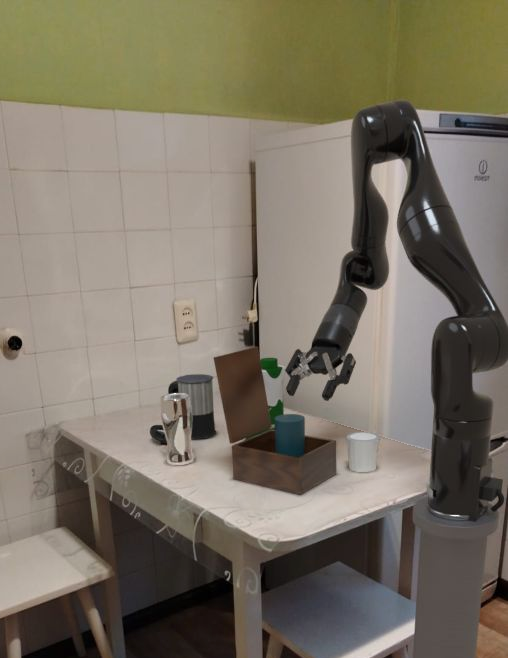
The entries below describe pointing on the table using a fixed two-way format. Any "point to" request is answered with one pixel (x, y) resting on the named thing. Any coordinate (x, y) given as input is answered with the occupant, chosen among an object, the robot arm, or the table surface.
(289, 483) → the bin
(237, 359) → the bin lid
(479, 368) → the robot arm
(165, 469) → the table surface
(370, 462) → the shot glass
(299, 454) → the can
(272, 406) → the milk carton
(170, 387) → the milk frother
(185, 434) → the beer glass
